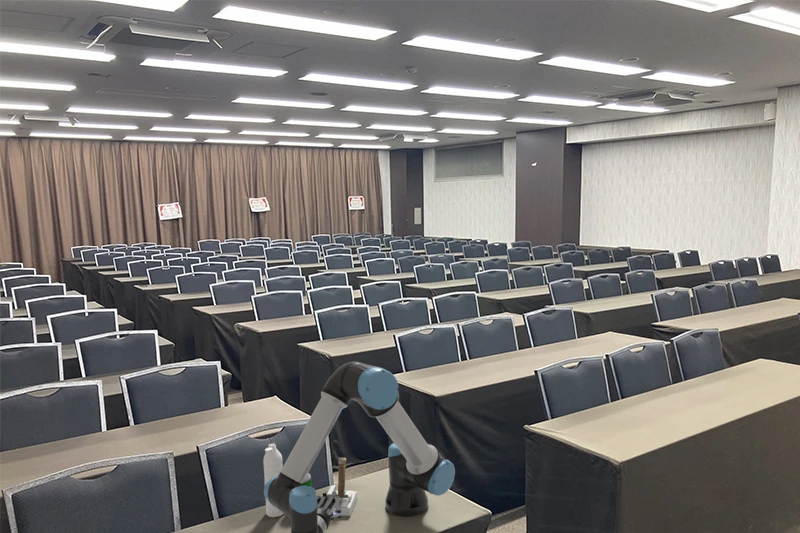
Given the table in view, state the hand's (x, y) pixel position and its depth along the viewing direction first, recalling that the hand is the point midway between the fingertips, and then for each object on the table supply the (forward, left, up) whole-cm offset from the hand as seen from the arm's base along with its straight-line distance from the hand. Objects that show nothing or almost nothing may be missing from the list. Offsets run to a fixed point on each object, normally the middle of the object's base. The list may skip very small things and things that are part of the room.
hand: (333, 489), depth 193 cm
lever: (+2, -9, -7) cm, 12 cm away
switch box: (+2, -9, -11) cm, 14 cm away
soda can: (+16, -5, -11) cm, 21 cm away
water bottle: (+22, +3, -11) cm, 25 cm away
